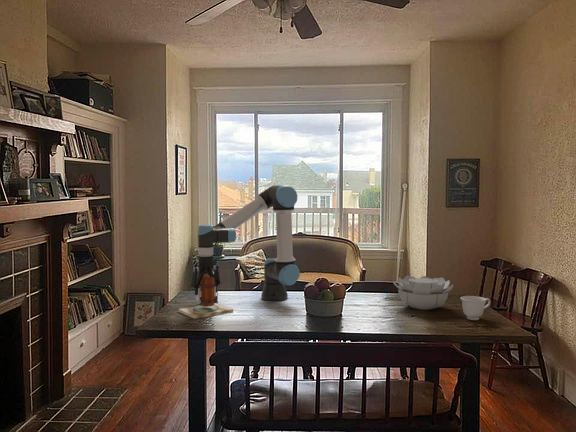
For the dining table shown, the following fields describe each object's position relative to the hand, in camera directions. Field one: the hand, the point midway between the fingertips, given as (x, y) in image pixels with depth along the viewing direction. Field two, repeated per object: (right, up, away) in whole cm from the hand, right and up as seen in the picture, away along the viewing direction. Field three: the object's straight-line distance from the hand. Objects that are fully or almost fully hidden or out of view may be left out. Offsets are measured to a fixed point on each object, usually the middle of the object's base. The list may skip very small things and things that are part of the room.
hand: (206, 299), depth 255 cm
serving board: (0, -6, 0) cm, 6 cm away
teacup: (+133, -8, -10) cm, 134 cm away
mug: (+1, -3, +1) cm, 3 cm away
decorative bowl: (+113, -6, +12) cm, 114 cm away
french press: (-1, -5, +21) cm, 22 cm away
